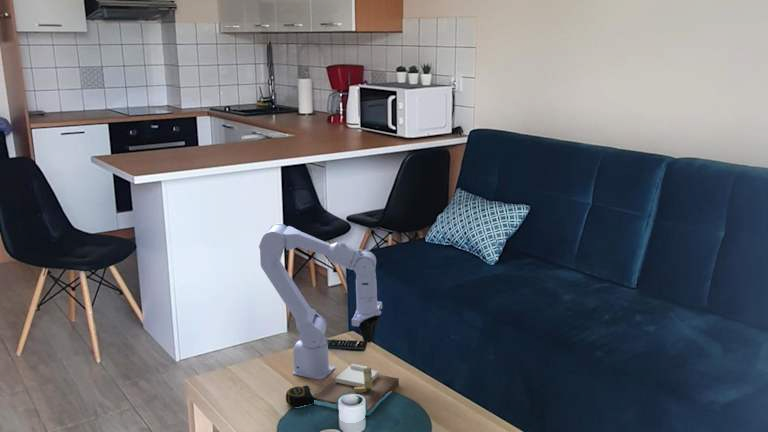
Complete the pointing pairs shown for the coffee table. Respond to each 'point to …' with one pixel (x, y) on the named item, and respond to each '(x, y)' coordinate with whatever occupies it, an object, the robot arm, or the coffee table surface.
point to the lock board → (377, 392)
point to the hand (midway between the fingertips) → (368, 341)
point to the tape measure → (299, 396)
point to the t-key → (366, 382)
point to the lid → (355, 375)
